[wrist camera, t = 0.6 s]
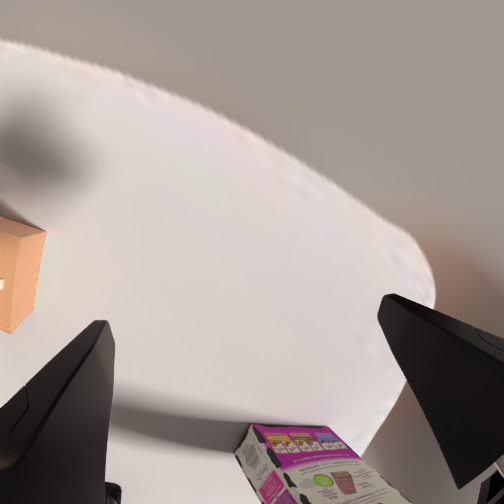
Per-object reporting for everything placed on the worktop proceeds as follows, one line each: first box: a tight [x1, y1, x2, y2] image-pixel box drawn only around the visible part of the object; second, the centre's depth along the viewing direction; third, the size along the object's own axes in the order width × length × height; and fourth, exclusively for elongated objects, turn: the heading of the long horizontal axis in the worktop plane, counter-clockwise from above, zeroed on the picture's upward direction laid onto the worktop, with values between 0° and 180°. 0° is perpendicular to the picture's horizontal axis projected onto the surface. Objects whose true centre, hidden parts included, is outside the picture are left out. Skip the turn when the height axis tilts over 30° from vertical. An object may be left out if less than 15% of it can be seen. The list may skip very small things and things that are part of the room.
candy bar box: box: [234, 424, 413, 504], centre depth 20 cm, size 11×5×16 cm, turn 65°
